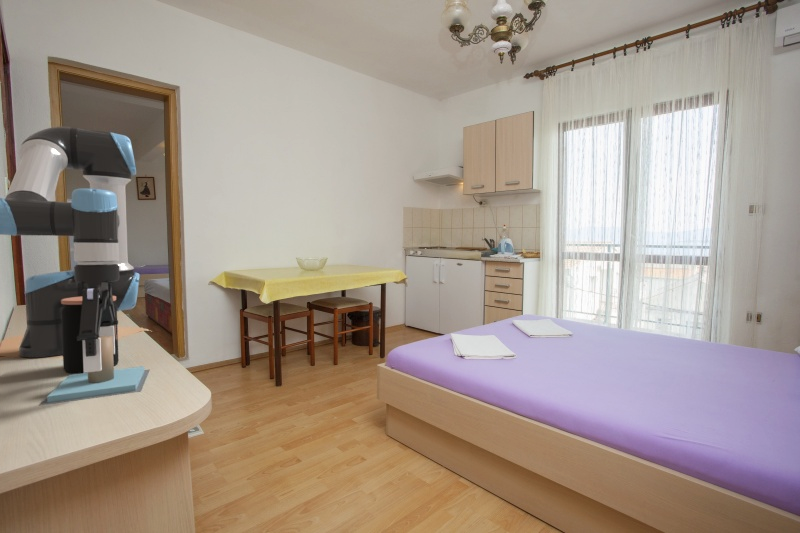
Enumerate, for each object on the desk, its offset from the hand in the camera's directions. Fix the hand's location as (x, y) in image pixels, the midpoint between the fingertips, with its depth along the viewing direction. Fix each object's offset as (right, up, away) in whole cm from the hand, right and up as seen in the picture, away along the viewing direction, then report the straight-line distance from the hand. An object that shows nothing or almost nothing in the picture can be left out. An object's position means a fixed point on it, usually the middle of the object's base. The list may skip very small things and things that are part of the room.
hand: (100, 362), depth 83 cm
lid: (0, -5, 0) cm, 5 cm away
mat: (0, -6, 0) cm, 6 cm away
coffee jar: (-12, -5, +13) cm, 19 cm away
